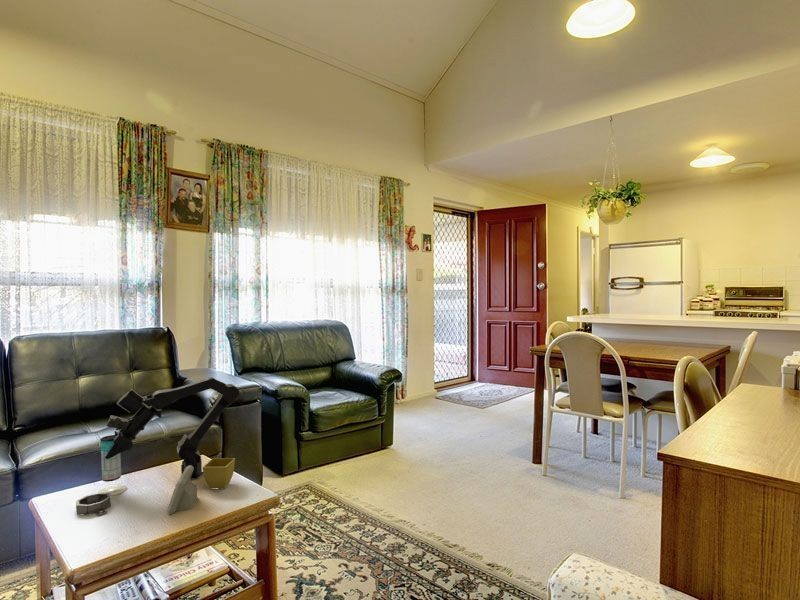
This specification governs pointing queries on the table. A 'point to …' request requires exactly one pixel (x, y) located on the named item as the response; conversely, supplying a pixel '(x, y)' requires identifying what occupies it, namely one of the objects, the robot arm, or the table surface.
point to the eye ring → (94, 504)
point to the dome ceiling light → (113, 489)
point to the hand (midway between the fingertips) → (106, 455)
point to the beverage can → (109, 460)
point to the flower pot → (218, 472)
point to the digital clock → (183, 492)
